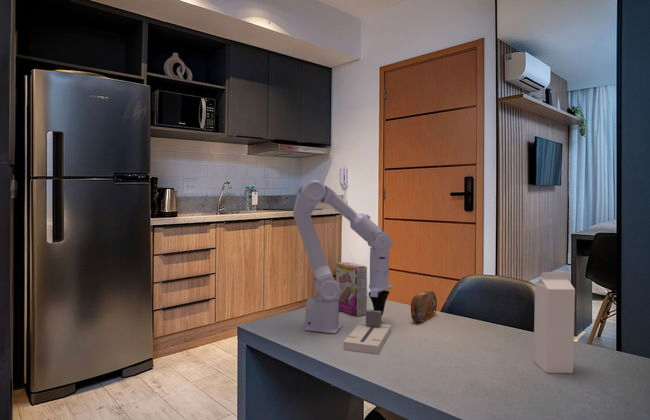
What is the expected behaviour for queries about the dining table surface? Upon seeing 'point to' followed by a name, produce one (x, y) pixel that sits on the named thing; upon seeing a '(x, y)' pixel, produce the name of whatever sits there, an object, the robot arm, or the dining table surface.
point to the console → (367, 338)
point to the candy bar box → (352, 288)
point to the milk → (554, 323)
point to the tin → (423, 306)
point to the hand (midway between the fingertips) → (378, 315)
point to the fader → (373, 318)
